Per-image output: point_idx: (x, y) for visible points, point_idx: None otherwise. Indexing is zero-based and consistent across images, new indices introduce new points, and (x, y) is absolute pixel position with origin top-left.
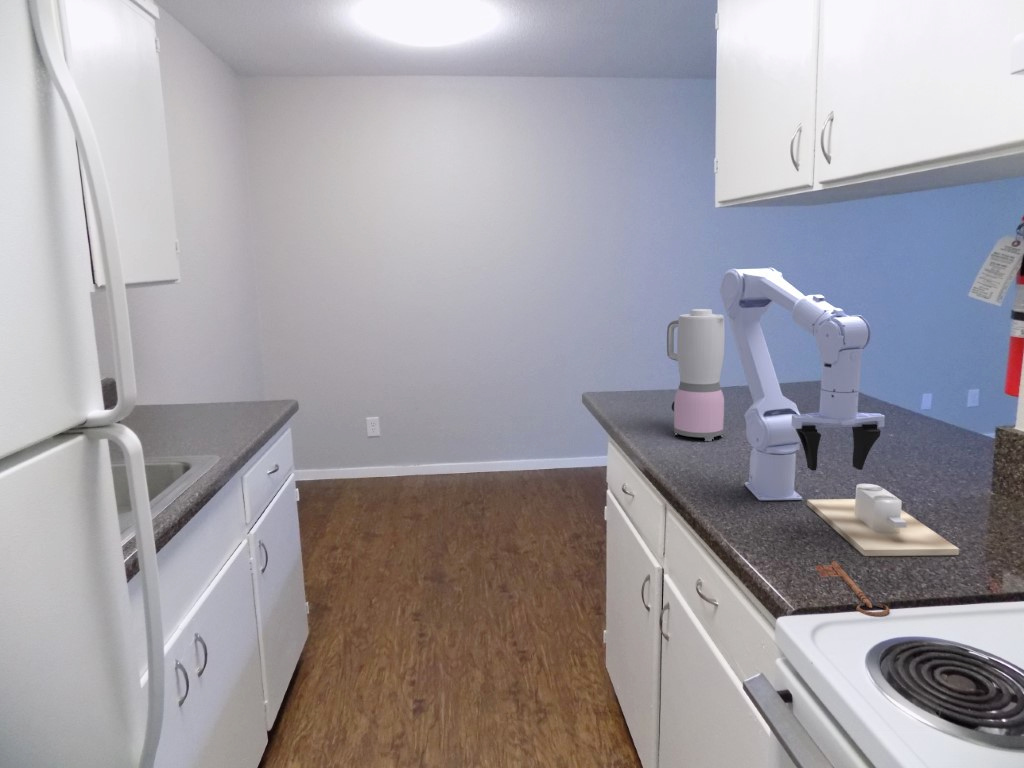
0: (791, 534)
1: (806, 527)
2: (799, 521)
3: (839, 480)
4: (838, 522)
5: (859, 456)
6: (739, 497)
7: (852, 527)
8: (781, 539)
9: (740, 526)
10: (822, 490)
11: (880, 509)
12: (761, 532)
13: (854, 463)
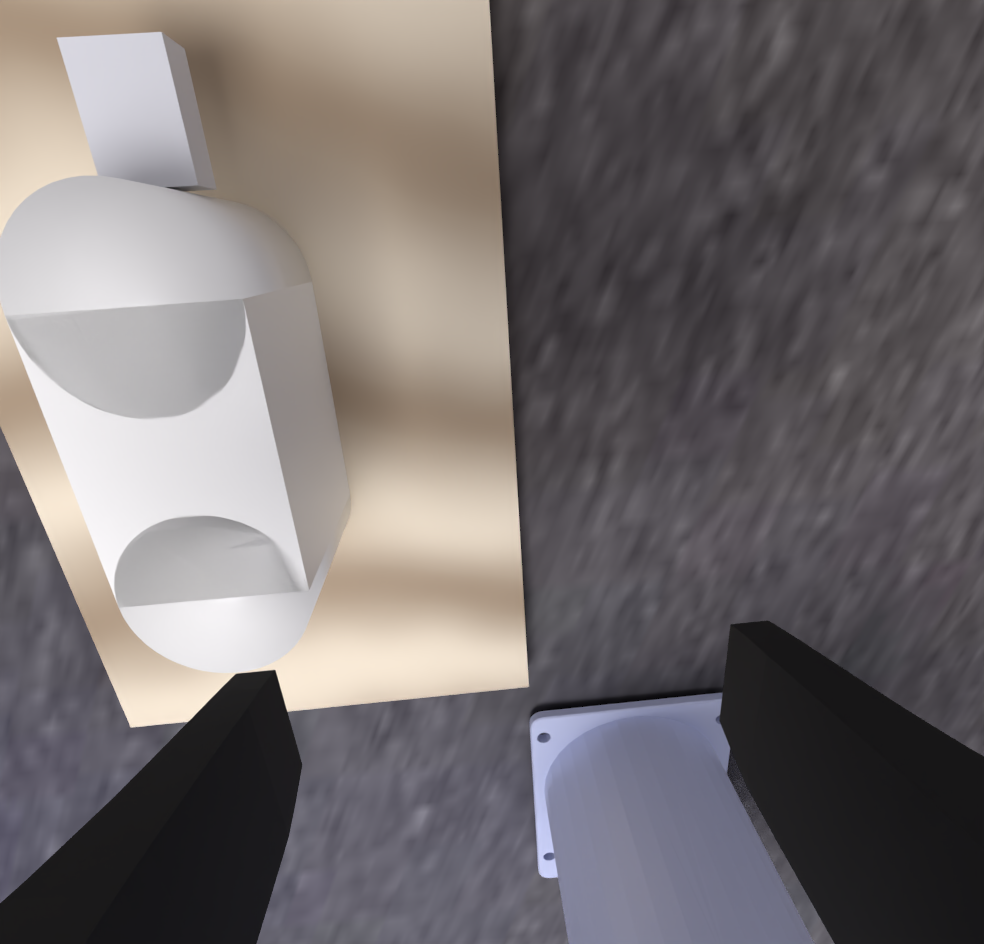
0: (770, 273)
1: (645, 381)
2: (646, 462)
3: (286, 921)
4: (481, 385)
5: (209, 822)
6: None
7: (426, 308)
8: (862, 190)
9: (979, 378)
10: (394, 822)
11: (227, 228)
12: (917, 296)
13: (285, 777)
